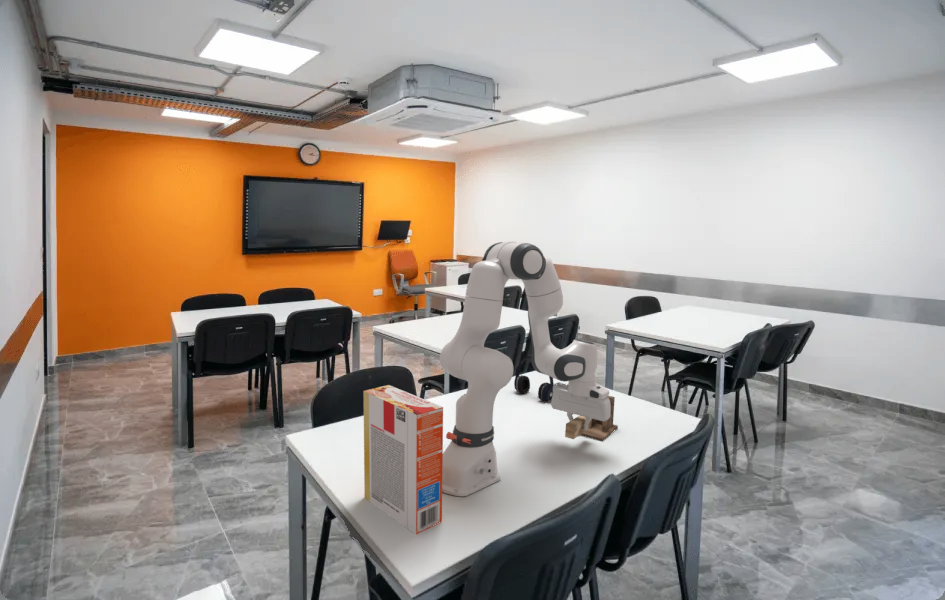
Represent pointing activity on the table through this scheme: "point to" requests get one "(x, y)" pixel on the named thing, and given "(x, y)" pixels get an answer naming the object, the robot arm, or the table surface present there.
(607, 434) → the wooden chair
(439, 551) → the table surface
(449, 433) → the robot arm
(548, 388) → the headphones
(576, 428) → the bed rail
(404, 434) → the pasta box
